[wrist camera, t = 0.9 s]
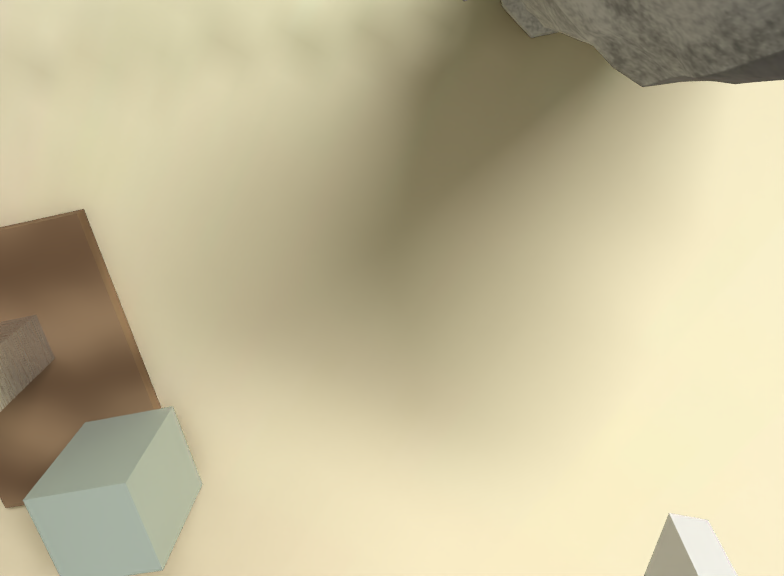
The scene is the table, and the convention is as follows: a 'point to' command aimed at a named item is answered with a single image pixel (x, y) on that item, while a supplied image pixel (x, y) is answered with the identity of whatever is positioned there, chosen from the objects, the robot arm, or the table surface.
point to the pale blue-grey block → (116, 496)
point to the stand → (64, 346)
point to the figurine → (669, 36)
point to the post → (21, 355)
